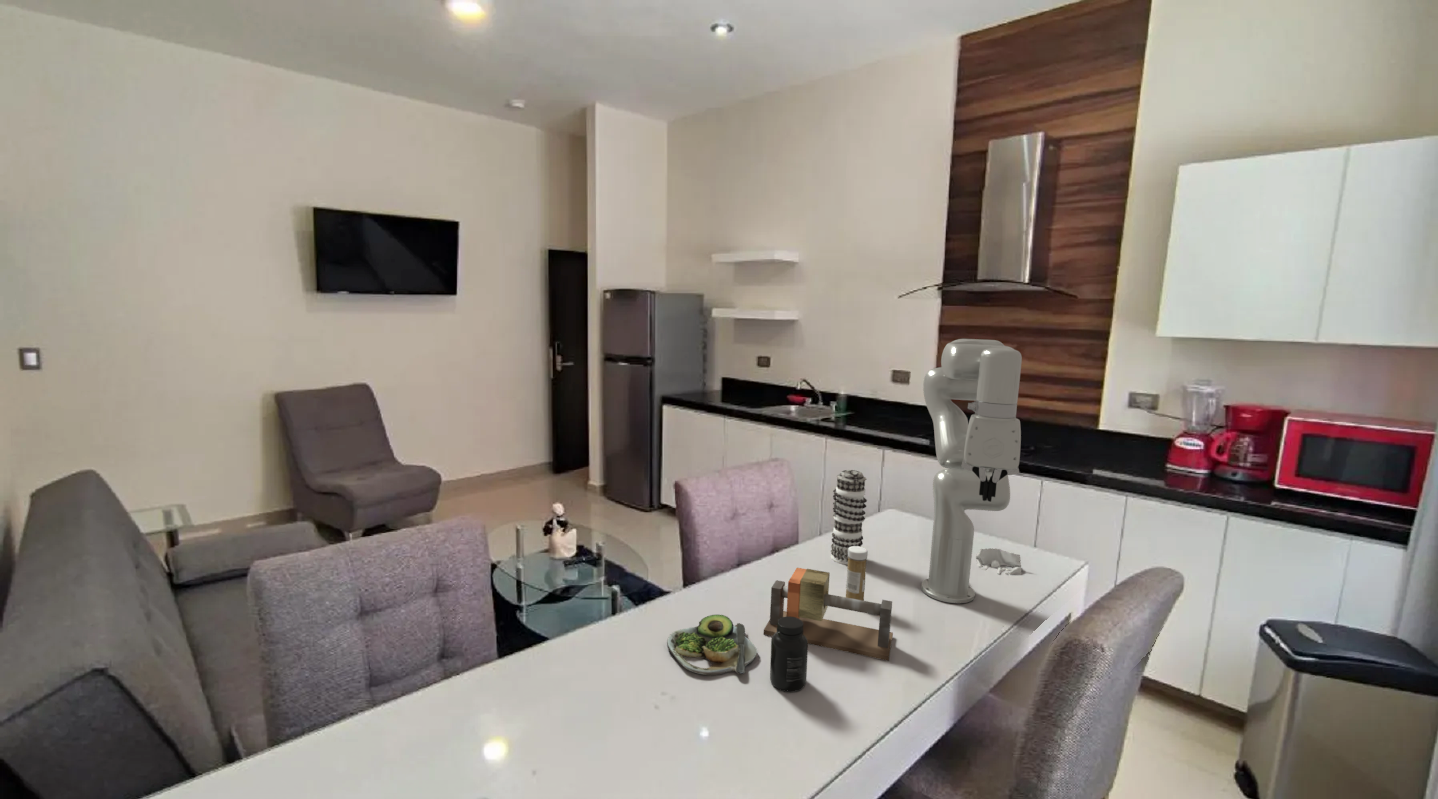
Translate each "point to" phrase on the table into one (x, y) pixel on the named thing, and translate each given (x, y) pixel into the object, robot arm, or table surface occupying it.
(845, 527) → the decorative candle
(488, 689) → the table surface
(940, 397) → the robot arm
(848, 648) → the machine model on base
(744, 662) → the avocado toast plate
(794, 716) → the table surface
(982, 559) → the grey relief sculpture
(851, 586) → the sprinkles bottle
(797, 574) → the orange rectangular slab
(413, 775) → the table surface
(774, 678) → the supplement bottle
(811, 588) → the sleeve
